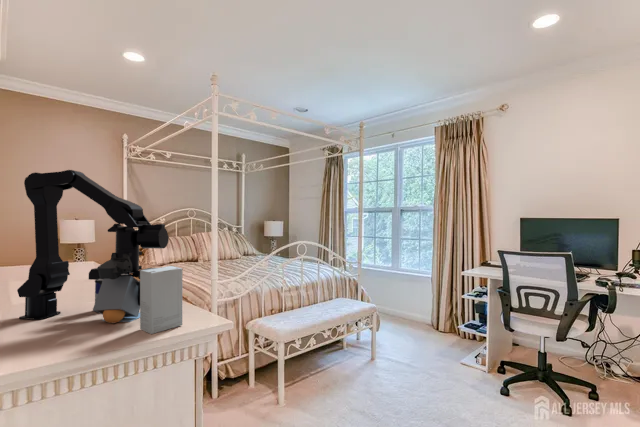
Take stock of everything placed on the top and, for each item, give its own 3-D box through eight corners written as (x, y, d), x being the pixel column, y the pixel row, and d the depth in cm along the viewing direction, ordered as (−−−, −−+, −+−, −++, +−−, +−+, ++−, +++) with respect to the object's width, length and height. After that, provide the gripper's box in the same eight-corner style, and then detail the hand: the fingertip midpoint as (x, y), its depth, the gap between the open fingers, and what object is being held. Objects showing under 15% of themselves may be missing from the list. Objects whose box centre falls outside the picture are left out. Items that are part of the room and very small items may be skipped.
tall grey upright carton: (170, 322, 87) (171, 265, 88) (183, 326, 84) (184, 267, 84) (137, 330, 80) (139, 268, 81) (150, 335, 77) (151, 271, 77)
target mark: (102, 320, 88) (102, 320, 88) (122, 312, 96) (122, 312, 96) (130, 321, 87) (130, 321, 87) (148, 313, 95) (148, 312, 95)
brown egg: (109, 298, 88) (113, 313, 90) (95, 311, 83) (100, 326, 85) (127, 300, 87) (131, 314, 89) (114, 312, 83) (119, 328, 85)
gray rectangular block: (92, 310, 84) (103, 277, 89) (111, 318, 90) (120, 287, 95) (121, 308, 84) (130, 275, 88) (137, 316, 90) (146, 285, 95)
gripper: (72, 250, 85) (70, 311, 84) (140, 251, 83) (139, 313, 83) (104, 247, 96) (103, 301, 95) (165, 247, 94) (164, 303, 94)
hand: (126, 304), depth 91 cm, fingers closed on gray rectangular block, 8 cm apart
